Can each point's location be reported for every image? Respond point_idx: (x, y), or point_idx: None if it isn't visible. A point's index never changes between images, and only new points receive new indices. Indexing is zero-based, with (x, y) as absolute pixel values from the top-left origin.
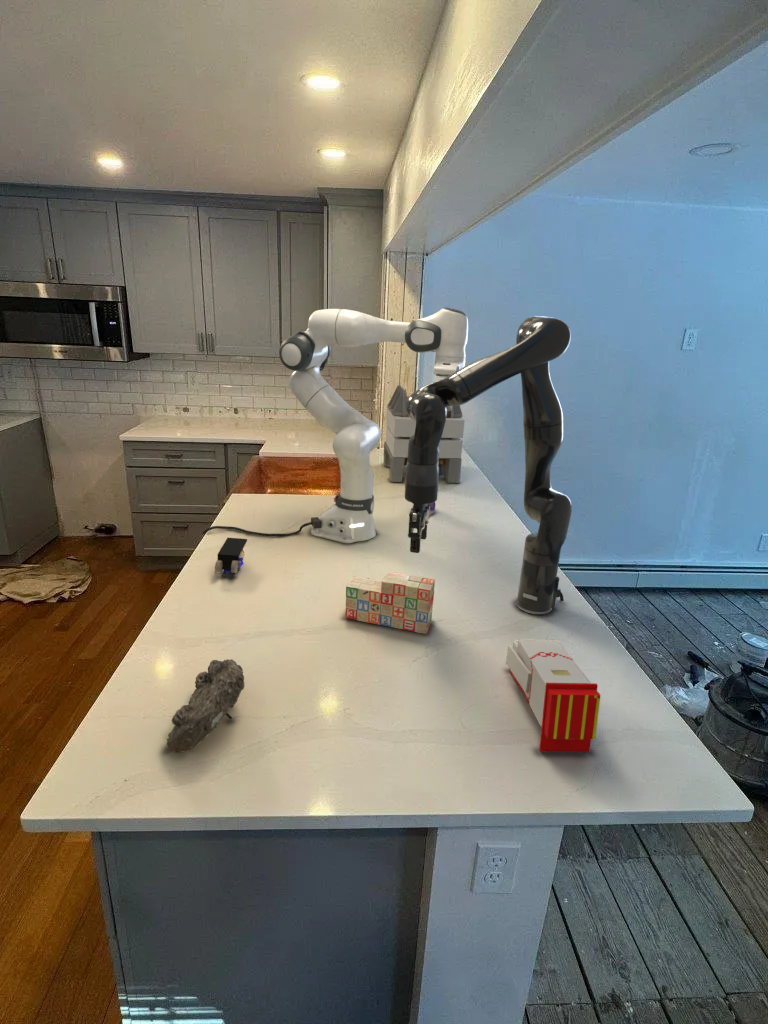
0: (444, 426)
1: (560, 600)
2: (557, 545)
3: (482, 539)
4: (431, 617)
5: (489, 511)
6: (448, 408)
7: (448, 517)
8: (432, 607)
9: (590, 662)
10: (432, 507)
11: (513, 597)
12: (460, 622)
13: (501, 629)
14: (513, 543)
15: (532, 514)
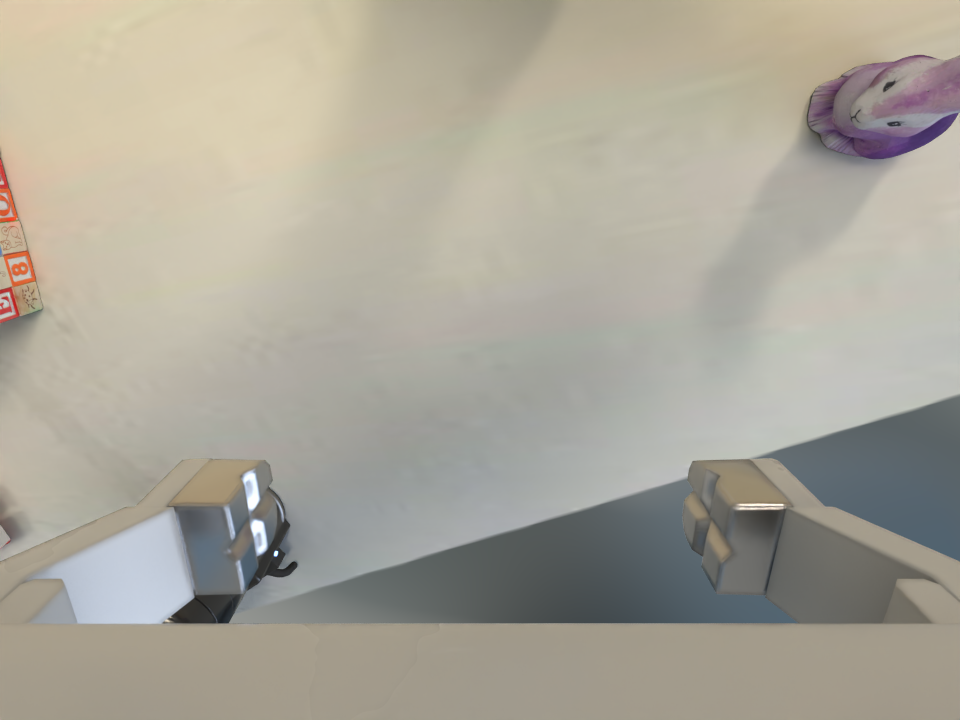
0: None
1: (292, 562)
2: None
3: (622, 365)
4: (30, 312)
5: (907, 359)
6: (705, 523)
7: (813, 223)
8: (6, 320)
9: None
10: (856, 150)
11: None
12: (84, 372)
13: (108, 456)
14: (617, 451)
15: None
